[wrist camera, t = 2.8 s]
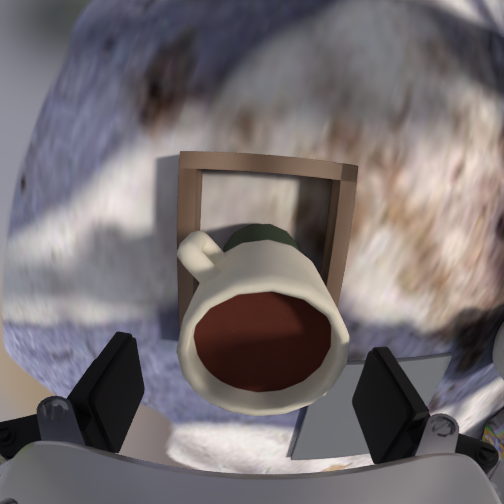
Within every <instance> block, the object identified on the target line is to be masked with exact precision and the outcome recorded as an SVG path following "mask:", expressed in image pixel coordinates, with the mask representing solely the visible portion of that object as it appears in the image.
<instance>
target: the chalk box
mask: <svg viewBox="0 0 504 504" xmlns="http://www.w3.org/2000/svg"><path fill="white" fill-rule="evenodd" d="M482 441H483V442H486V443H489V444H491V445H493V446H494V447H495V448H496V450H497V451H498V454H499V460H501V459H502V458H503V459H504V409H502V410H501V411H500V412H499V413H497V414H496V415H495V416H494V417H492V418H491V419H490V420H488V421H487V422H486V425H485V429H484V433H483V437H482Z"/></svg>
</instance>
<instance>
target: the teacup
mask: <svg viewBox="0 0 504 504" xmlns="http://www.w3.org/2000/svg"><path fill="white" fill-rule="evenodd" d="M492 359H493V364H494V366H495V368H496V370H497V371H498V373H499V374H500V376H501V377H502V379H503V380H504V322H503V323H502V325H501V326H500V328H499V330H498V332H497V335H496V338H495V341H494V347H493V353H492Z"/></svg>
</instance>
